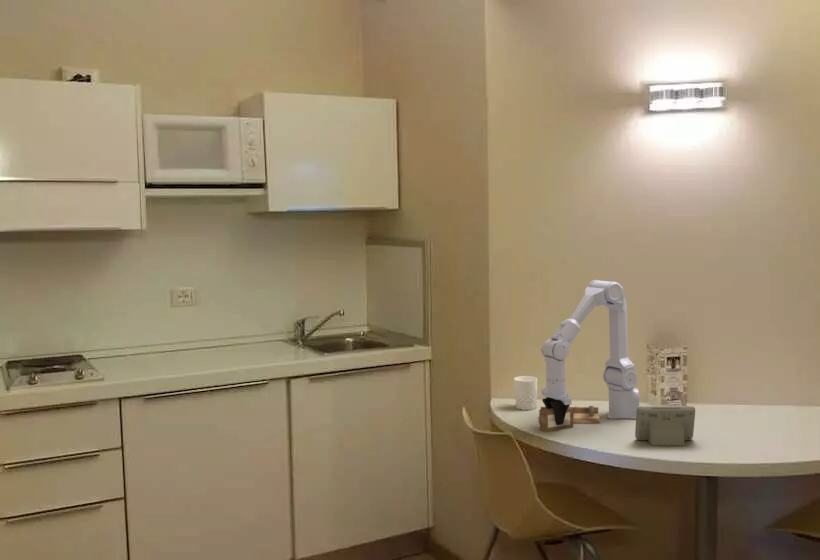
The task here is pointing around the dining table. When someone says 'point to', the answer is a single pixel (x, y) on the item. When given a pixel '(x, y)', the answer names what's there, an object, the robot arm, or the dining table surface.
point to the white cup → (525, 392)
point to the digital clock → (665, 424)
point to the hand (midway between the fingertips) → (556, 422)
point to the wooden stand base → (584, 414)
